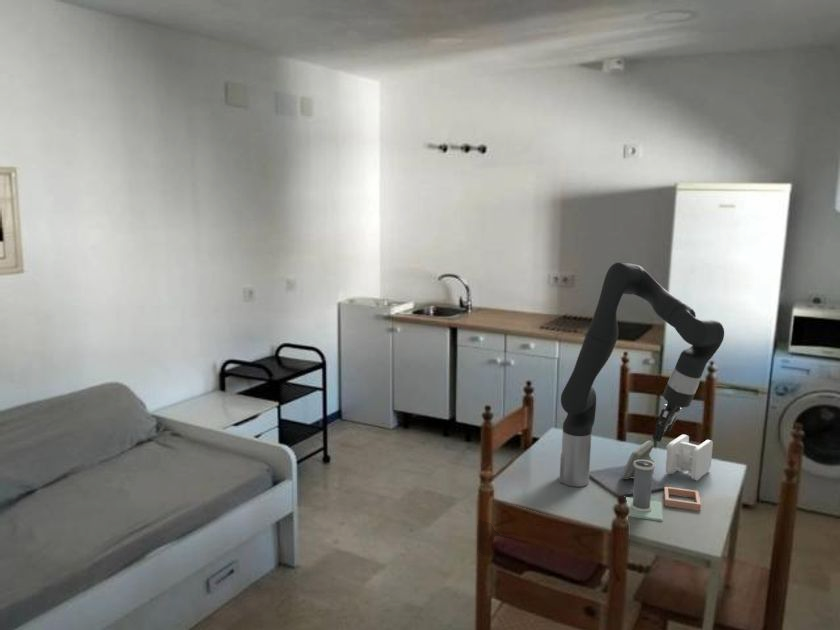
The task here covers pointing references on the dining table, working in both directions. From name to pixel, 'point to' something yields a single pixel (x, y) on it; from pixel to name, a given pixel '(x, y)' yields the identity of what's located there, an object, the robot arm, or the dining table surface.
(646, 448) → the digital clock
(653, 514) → the green mat
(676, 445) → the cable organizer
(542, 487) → the dining table surface
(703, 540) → the dining table surface
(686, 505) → the tie collar
